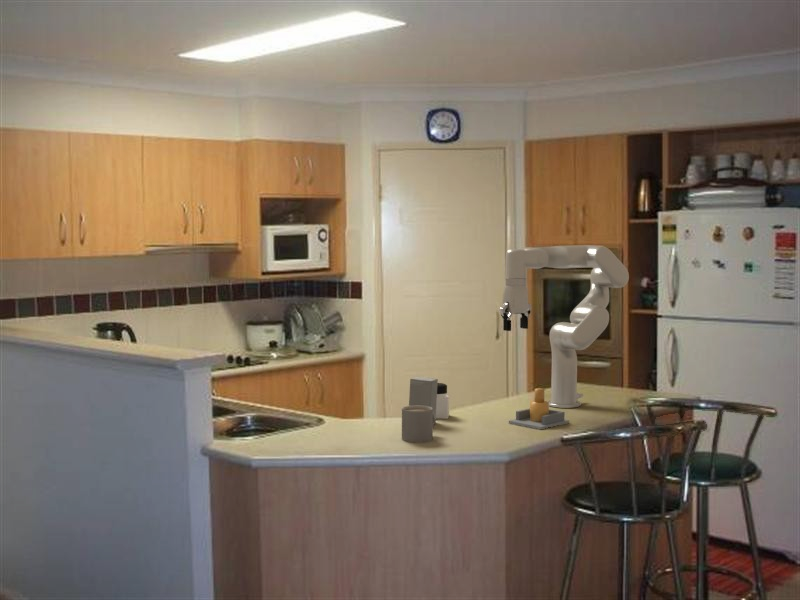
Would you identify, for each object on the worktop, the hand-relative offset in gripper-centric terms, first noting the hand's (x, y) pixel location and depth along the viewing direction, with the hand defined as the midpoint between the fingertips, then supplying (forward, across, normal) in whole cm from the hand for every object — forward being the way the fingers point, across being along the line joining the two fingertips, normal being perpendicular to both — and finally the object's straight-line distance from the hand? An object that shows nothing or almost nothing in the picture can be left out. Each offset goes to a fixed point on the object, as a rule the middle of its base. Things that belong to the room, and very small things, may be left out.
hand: (515, 329), depth 366 cm
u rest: (+30, +11, +20) cm, 38 cm away
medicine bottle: (+30, +28, -12) cm, 43 cm away
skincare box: (+30, +40, -9) cm, 51 cm away
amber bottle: (+29, +11, +20) cm, 37 cm away
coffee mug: (+30, +57, +7) cm, 65 cm away
